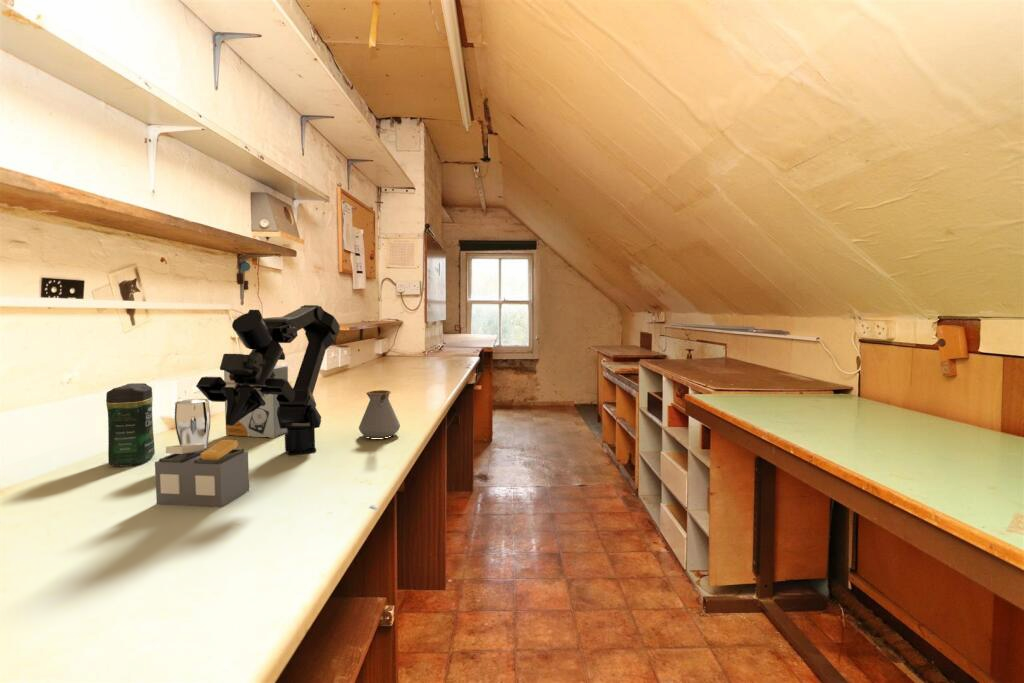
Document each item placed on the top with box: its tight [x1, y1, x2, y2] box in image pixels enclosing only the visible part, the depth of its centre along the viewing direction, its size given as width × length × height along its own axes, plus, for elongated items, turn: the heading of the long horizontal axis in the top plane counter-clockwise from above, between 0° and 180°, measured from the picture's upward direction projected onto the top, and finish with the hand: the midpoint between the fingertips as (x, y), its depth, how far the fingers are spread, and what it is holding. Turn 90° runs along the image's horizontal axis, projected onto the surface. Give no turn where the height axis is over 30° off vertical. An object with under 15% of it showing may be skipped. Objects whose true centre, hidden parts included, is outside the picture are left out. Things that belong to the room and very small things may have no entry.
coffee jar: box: [105, 382, 156, 467], centre depth 115 cm, size 10×8×19 cm
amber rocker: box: [201, 439, 239, 460], centre depth 93 cm, size 6×3×1 cm, turn 175°
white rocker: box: [165, 444, 205, 455], centre depth 94 cm, size 6×3×1 cm, turn 175°
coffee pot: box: [358, 389, 401, 438], centre depth 134 cm, size 21×12×15 cm, turn 20°
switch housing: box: [154, 447, 250, 508], centre depth 94 cm, size 8×13×8 cm, turn 85°
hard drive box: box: [223, 365, 289, 439], centre depth 140 cm, size 16×8×20 cm, turn 80°
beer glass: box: [174, 398, 211, 448], centre depth 113 cm, size 7×7×15 cm
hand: (228, 424), depth 95 cm, fingers closed
